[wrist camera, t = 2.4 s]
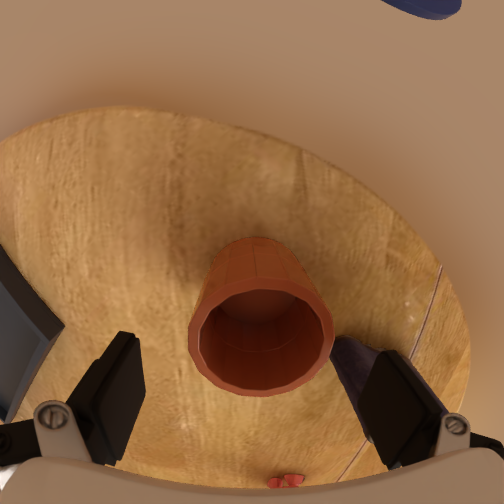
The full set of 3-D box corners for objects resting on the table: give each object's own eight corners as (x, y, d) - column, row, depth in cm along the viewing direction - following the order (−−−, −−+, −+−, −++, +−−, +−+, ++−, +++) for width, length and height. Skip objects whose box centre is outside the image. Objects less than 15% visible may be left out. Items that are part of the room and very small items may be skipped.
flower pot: (211, 231, 17) (189, 268, 10) (310, 242, 17) (350, 284, 10) (204, 320, 18) (188, 390, 12) (293, 328, 19) (315, 397, 12)
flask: (413, 358, 20) (473, 438, 10) (394, 381, 21) (444, 465, 11) (338, 328, 19) (399, 442, 9) (317, 358, 20) (358, 474, 9)
